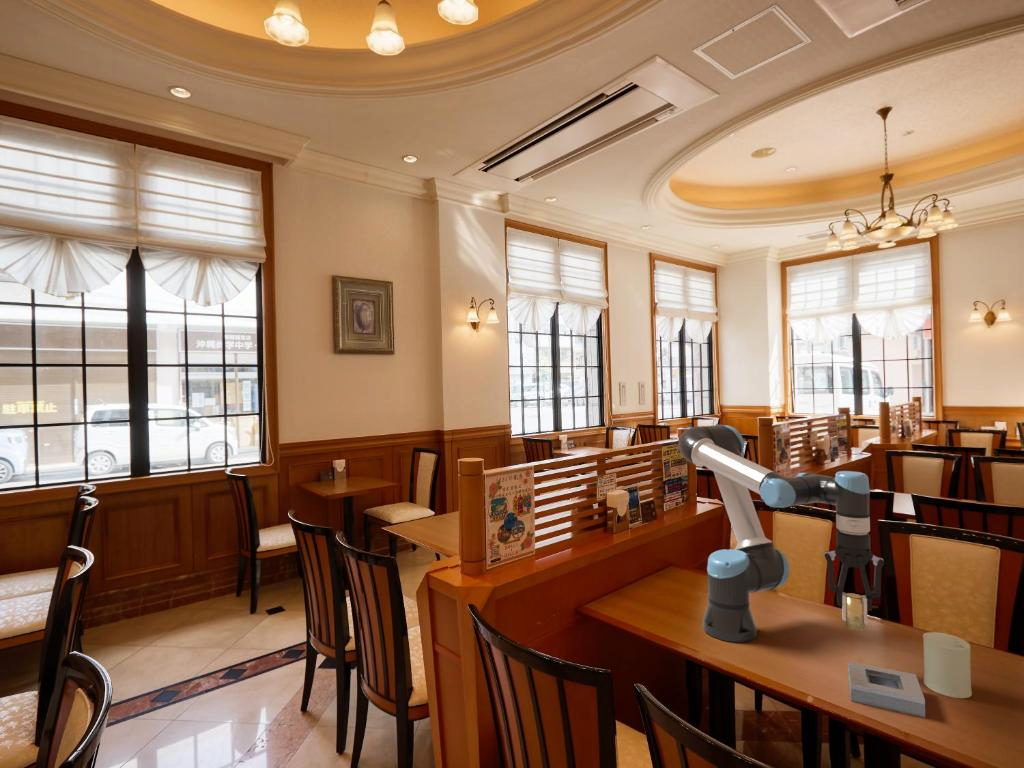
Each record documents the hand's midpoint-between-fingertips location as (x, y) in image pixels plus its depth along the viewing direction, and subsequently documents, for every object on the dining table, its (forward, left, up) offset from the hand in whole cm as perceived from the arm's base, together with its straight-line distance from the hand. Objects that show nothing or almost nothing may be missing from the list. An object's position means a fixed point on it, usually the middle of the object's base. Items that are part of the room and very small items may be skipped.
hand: (854, 620), depth 142 cm
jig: (+5, -12, -12) cm, 18 cm away
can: (+19, -1, -13) cm, 23 cm away
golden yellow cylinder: (0, 0, -2) cm, 2 cm away
